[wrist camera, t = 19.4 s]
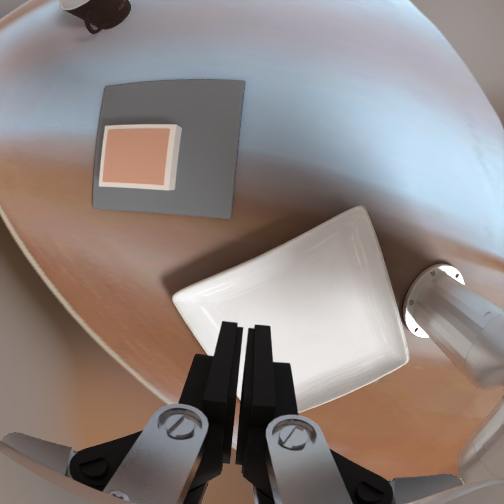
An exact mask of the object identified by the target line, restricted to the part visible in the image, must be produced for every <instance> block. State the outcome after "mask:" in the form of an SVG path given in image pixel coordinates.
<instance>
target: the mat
mask: <svg viewBox="0 0 504 504" xmlns="http://www.w3.org/2000/svg"><path fill="white" fill-rule="evenodd" d="M244 89H245V81H239V80H212V79H189V80H163V81H148V82H137V83H128V84H120V85H112V86H106V87H105V90H104V96H103V101H102V107H101V113H100V120H99V127H98V135H97V144H96V154H95V166H94V182H93V209H101V210H118V211H134V212H149V213H163V214H176V215H188V216H200V217H211V218H222V219H231V215H232V204H233V193H234V182H235V172H236V162H237V152H238V142H239V133H240V124H241V115H242V106H243V97H244ZM138 124H175V125H178V126H180V127H181V128H182V131H181V139H180V146H179V155H178V163H177V172H176V182H175V190H169V191H168V190H154V189H139V188H122V187H100V186H99V176H100V164H101V155H102V146H103V138H104V131H105V126H112V125H138Z"/></svg>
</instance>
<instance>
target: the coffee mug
mask: <svg viewBox="0 0 504 504" xmlns="http://www.w3.org/2000/svg"><path fill="white" fill-rule="evenodd" d="M60 8H61V9H63V10H65V11H67V12H69V13H71V14H73V15H75V16H77V17H79V18H81V19H83V20H84V21H85V25H86V28H87V29H88V31H89V32H90V33H92V34H95V33H98V32H99V31H101V30H102V29H110V28H112V27H115V26H116V25H118V24H120V23H121V22H122V21H123V20H124V19H125V18H126V17H127V16H128V14H129V12H130V10H131V4H130V3H129V1H128V0H60ZM89 23H91V24H93V25H94V26H96V27H98V29H97V30H93V29H92V28H91V26H90V24H89Z"/></svg>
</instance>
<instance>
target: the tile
mask: <svg viewBox="0 0 504 504" xmlns="http://www.w3.org/2000/svg"><path fill="white" fill-rule="evenodd" d="M181 131H182V128H181V127H180V126H178V125H175V124H138V125H112V126H105V131H104V138H103V146H102V155H101V164H100V176H99V186H100V187H122V188H139V189H154V190H168V191H169V190H175V182H176V172H177V163H178V155H179V146H180V139H181Z"/></svg>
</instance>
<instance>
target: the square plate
mask: <svg viewBox="0 0 504 504" xmlns="http://www.w3.org/2000/svg"><path fill="white" fill-rule="evenodd" d="M172 301H173V303H174V305H175V306H176V308H177V310H178V311H179V313H180V315H181V316H182V318H183V319H184V321H185V322H186V324H187V325H188V327H189V328H190V330H191V331H192V333H193V334H194V336H195V337H196V339H197V340H198V342H199V343H200V345H201V346H202V348H203V349H204V350H205V352H206V353H207V355H210V356H214V352H215V348H216V344H217V340H218V336H219V332H220V328H221V324H222V321H227V322H236V323H238V326H237V327H243V336H242V346H241V356H240V366H239V376H238V386H237V397H238V398H239V400H240V401H241V390H242V380H243V371H244V362H245V353H246V344H247V335H248V328H254V326H255V324H256V325H267V326H270V327H271V340H272V354H273V362H284V363H290V365H291V370H292V376H293V383H294V389H295V396H296V403H297V409H298V413H300V412H303V411H306V410H308V409H311V408H314V407H317V406H319V405H322V404H324V403H327V402H329V401H332V400H334V399H336V398H339V397H341V396H343V395H346V394H348V393H350V392H352V391H355V390H357V389H359V388H361V387H363V386H365V385H367V384H369V383H371V382H373V381H375V380H377V379H379V378H381V377H383V376H385V375H387V374H389V373H391V372H393V371H394V370H396V369H398V368H400V367H401V366H403V365H404V364H406V363H407V362H408V361H409V351H408V346H407V342H406V338H405V334H404V330H403V326H402V322H401V318H400V314H399V311H398V307H397V303H396V300H395V296H394V293H393V289H392V285H391V282H390V278H389V275H388V271H387V268H386V264H385V261H384V258H383V255H382V251H381V248H380V245H379V242H378V239H377V236H376V233H375V230H374V227H373V225H372V222H371V219H370V217H369V215H368V212H367V210H366V208H365V207H364V206H363V205H360V206H356V207H354V208H352V209H349V210H347V211H345V212H343V213H341V214H339V215H337V216H335V217H333V218H331V219H330V220H328V221H326V222H324V223H322V224H320V225H318V226H317V227H315V228H313V229H311V230H309V231H307V232H305V233H303V234H301V235H299V236H298V237H296V238H294V239H292V240H290V241H288V242H286V243H284V244H282V245H280V246H278V247H276V248H274V249H272V250H269V251H267V252H265V253H263V254H261V255H259V256H257V257H255V258H252V259H250V260H248V261H246V262H243V263H241V264H239V265H237V266H234V267H232V268H230V269H227V270H225V271H222V272H220V273H218V274H215V275H213V276H211V277H208V278H206V279H203V280H201V281H199V282H196V283H194V284H192V285H189V286H187V287H185V288H183V289H181V290H179V291H177V292H176V293H175V294H174V295H173V296H172Z"/></svg>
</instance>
